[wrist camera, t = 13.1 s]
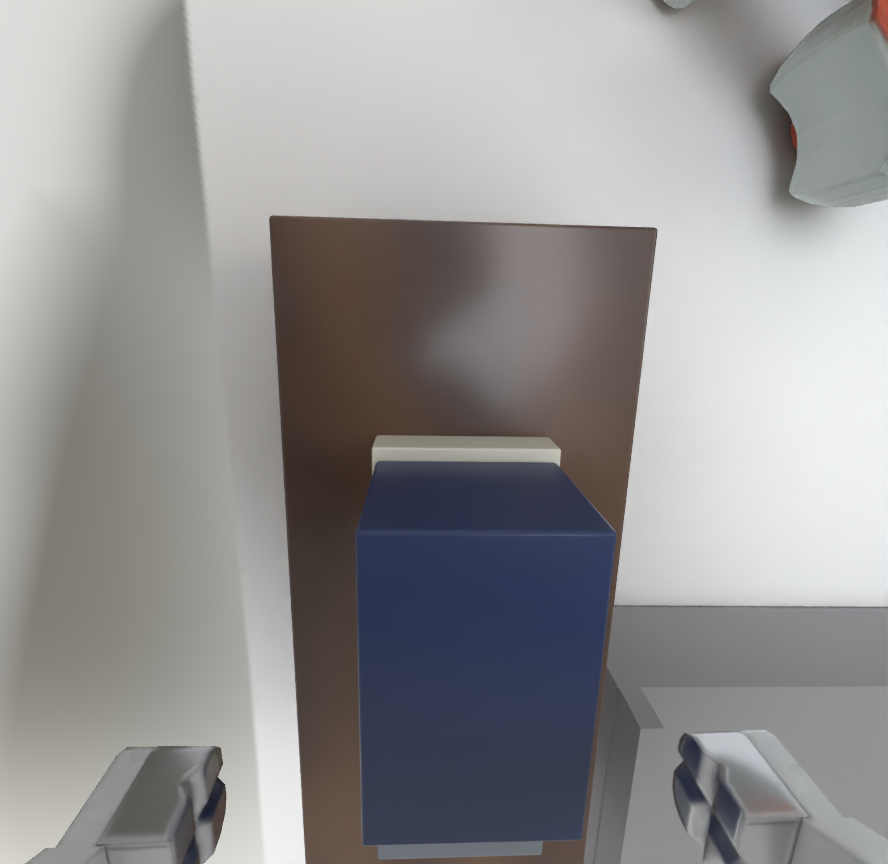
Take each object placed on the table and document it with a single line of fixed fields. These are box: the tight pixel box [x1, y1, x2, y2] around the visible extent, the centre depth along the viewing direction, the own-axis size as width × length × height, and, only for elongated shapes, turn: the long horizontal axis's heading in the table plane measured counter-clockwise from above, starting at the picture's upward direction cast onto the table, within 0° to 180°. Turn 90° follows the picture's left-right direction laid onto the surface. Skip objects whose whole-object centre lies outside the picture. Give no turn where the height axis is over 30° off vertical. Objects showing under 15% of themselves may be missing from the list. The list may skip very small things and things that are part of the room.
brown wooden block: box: [269, 215, 657, 864], centre depth 18 cm, size 9×20×8 cm, turn 179°
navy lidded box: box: [355, 435, 617, 859], centre depth 11 cm, size 10×4×5 cm, turn 179°
